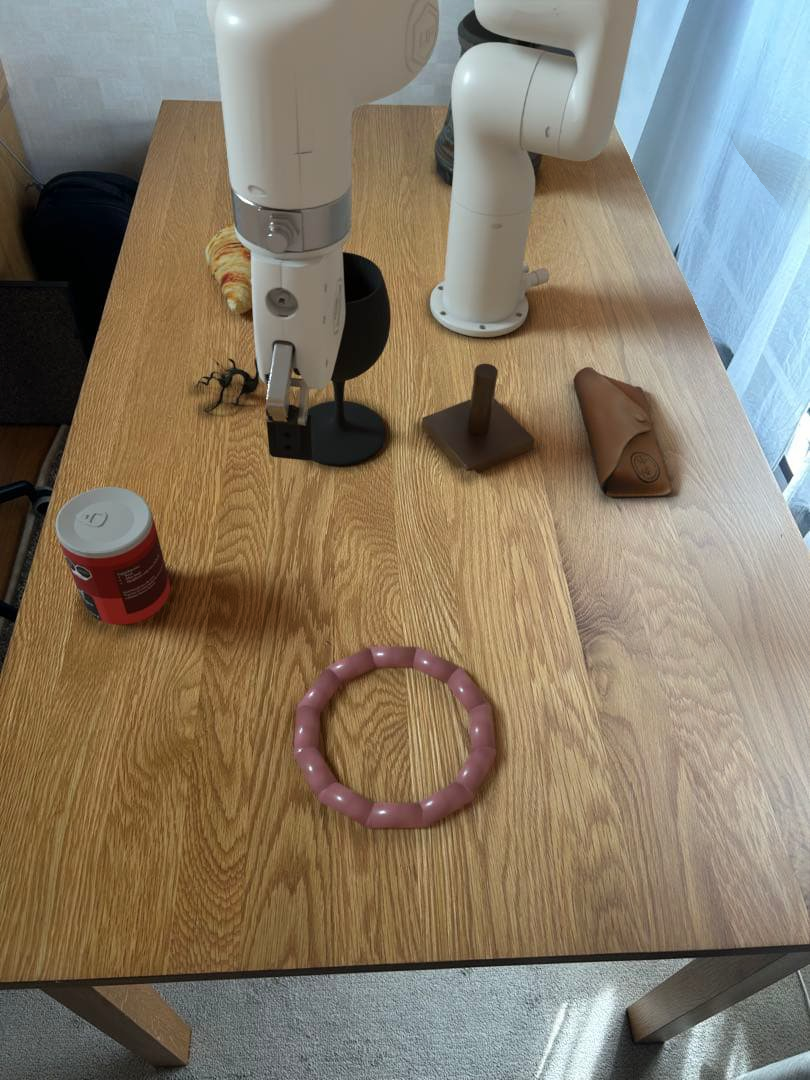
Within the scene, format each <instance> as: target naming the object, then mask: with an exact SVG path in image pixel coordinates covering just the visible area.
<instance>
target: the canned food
mask: <svg viewBox="0 0 810 1080" xmlns="http://www.w3.org/2000/svg"><path fill="white" fill-rule="evenodd" d="M156 526H157V525H156V523H155V519H154V515H153V512H152V509H151V508H150V505H149V503H148V502H147V501H146V499H145V498H144V497H143V496H141V495H140V494H139V493H137V492H134V491H132V490H130V489H127V488H123V487H115V486H104V487H103V486H102V487H97V488H92V489H89V490H86V491H83V492H81V493H79V494H77V495H75V496H73V497H72V498H70V499H69V500H68V501H67V502H66V503H65V504H64V505H63V506H62V507H61V508H60V509H59V512H58V513H57V515H56V519H55V526H54V527H55V532H56V537H57V539H58V542H59V545H60V548H61V550H62V553H63V556H64V559H65V561H66V563H67V566H68V568H69V570H70V573H71V576H72V578H73V581H74V583H75V586H76V588H77V591H78V593H79V596H80V598H81V601H82V603H83V606H84V608H85V610H86V611H87V612H88V614H89V615H90V616H91V617H92V618H94V620H98V621H100V622H102V623H106V624H110V625H117V626H119V625H121V626H122V625H130V624H135V623H139V622H141V621H144V620H146V619H148V618H150V617H152V616H154V615H155V614H156V613H158V611H160V609H161V608H162V607H164V605H165V604H166V602H167V600H168V599H169V595H170V591H171V583H170V579H169V575H168V571H167V567H166V562H165V559H164V554H163V551H162V547H161V543H160V537H159V534H158V530H157V527H156Z"/></svg>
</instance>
